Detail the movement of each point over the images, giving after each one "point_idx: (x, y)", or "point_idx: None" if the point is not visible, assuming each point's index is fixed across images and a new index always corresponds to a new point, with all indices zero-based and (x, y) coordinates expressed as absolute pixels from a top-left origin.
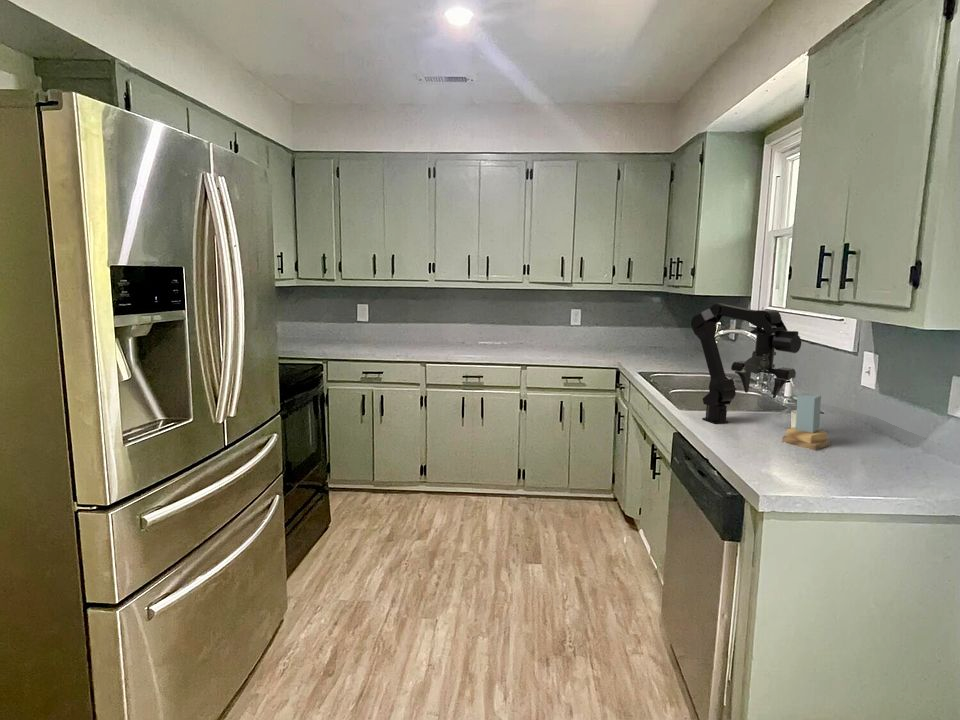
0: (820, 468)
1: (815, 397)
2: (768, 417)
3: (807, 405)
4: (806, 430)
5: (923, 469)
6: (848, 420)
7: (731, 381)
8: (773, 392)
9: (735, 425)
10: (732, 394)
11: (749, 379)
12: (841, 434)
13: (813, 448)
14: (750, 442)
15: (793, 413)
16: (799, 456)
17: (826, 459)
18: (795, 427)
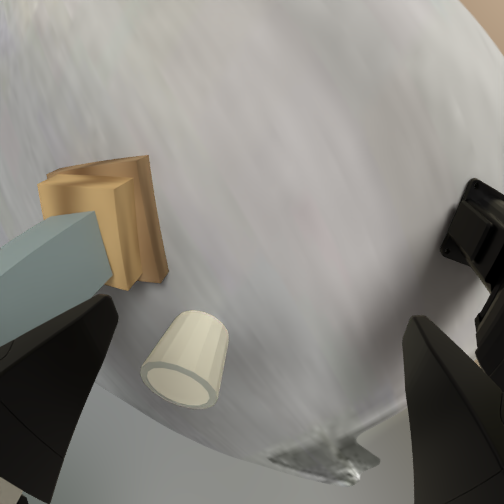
0: (5, 45)
1: None
2: (345, 398)
3: None
4: (61, 216)
5: None
6: (214, 446)
7: None
8: (64, 321)
9: (404, 232)
10: (495, 335)
11: (422, 488)
12: None
13: (60, 169)
14: (211, 20)
15: (189, 366)
16: (49, 64)
17: (18, 120)
18: (117, 246)
